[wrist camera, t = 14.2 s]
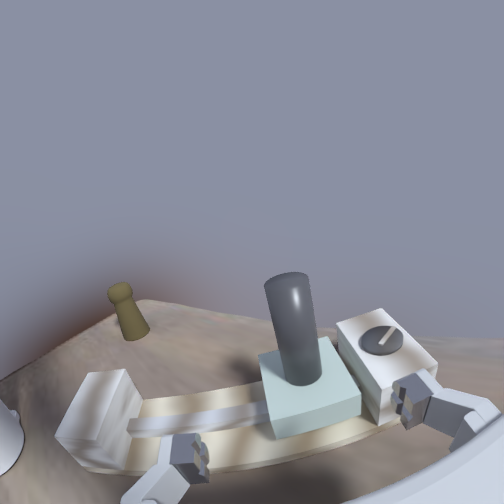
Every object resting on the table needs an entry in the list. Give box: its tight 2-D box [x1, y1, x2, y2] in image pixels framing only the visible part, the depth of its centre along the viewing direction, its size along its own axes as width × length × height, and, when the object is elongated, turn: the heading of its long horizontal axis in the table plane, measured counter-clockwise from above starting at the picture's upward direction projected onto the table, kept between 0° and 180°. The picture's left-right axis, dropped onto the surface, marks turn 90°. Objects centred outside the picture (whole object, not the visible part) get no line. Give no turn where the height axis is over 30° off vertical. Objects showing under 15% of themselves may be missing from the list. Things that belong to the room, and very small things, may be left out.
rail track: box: [54, 308, 438, 476], centre depth 26 cm, size 38×12×7 cm, turn 95°
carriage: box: [258, 272, 361, 439], centre depth 25 cm, size 8×10×14 cm
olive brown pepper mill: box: [107, 282, 150, 341], centre depth 53 cm, size 6×6×11 cm
